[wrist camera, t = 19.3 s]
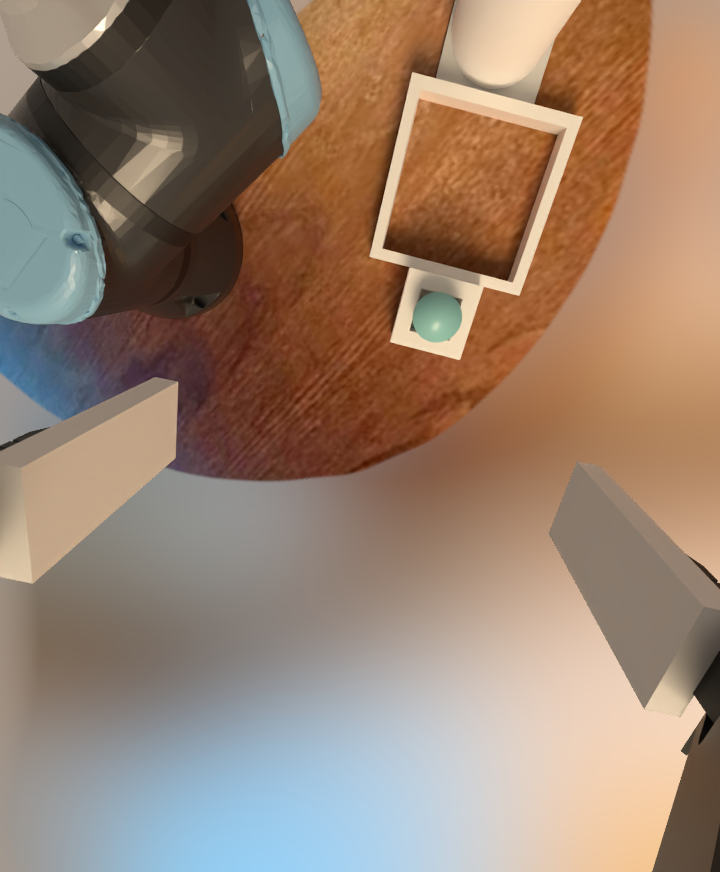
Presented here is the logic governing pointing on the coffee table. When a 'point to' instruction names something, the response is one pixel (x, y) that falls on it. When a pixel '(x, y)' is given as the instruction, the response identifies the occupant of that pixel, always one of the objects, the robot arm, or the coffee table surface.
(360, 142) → the coffee table surface
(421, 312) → the mint mushroom button
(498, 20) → the cup
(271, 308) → the coffee table surface
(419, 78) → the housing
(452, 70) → the pad
